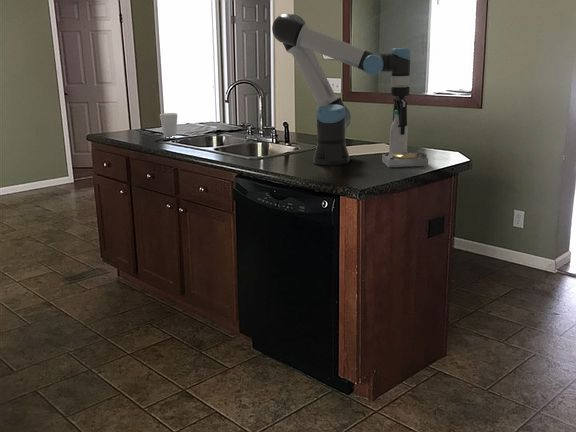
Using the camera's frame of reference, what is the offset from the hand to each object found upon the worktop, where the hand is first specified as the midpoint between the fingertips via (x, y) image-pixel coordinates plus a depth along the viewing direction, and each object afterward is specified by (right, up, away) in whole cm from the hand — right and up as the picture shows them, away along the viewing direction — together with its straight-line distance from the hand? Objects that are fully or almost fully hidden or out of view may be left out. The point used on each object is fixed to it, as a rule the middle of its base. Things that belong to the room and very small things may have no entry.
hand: (399, 140), depth 260 cm
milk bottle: (0, -7, +3) cm, 7 cm away
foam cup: (-113, +11, +76) cm, 136 cm away
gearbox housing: (0, -11, -12) cm, 16 cm away
